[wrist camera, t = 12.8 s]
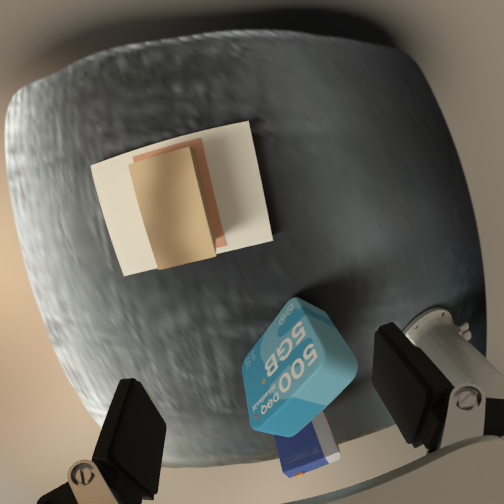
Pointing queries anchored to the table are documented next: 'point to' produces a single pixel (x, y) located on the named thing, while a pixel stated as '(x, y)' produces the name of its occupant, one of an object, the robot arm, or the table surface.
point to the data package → (296, 369)
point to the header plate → (214, 184)
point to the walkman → (308, 448)
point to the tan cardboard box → (174, 208)
